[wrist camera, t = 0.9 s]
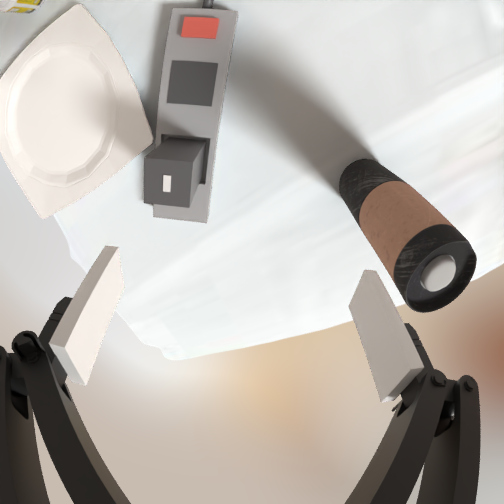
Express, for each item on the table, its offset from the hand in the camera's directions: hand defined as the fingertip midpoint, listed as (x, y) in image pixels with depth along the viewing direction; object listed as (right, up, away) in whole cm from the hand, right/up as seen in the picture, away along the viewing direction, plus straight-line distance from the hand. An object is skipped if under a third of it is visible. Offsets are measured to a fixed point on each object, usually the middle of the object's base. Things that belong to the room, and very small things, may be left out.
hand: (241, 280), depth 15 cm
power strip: (-6, +19, +15) cm, 25 cm away
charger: (-7, +13, +18) cm, 23 cm away
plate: (-25, +20, +14) cm, 35 cm away
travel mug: (+15, +11, +21) cm, 28 cm away
